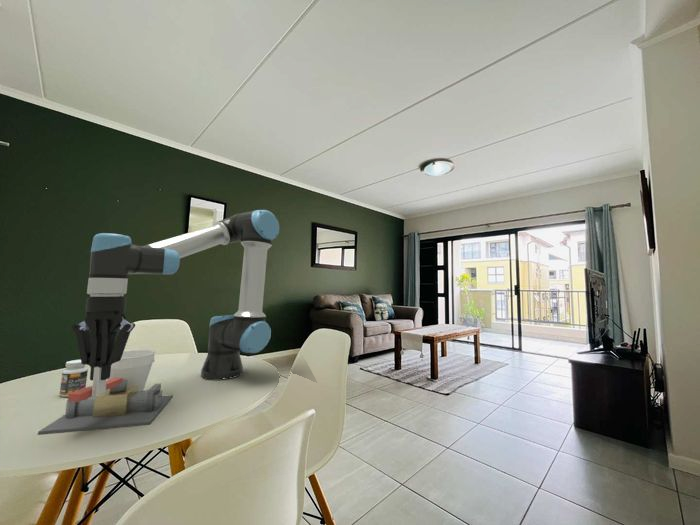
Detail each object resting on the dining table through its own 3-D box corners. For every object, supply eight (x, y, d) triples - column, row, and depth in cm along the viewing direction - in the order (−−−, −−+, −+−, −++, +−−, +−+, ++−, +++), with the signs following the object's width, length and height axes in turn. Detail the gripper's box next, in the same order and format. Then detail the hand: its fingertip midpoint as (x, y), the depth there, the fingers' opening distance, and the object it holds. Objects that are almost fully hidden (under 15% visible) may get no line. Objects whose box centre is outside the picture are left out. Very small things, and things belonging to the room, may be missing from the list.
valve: (163, 402, 82) (165, 382, 82) (153, 412, 75) (155, 390, 76) (78, 408, 76) (81, 387, 77) (60, 420, 69) (63, 396, 70)
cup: (139, 406, 80) (144, 357, 82) (88, 409, 77) (94, 359, 79) (158, 391, 92) (161, 348, 93) (114, 393, 89) (119, 349, 91)
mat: (173, 397, 87) (173, 395, 87) (149, 424, 70) (150, 421, 70) (86, 403, 81) (86, 400, 81) (37, 434, 64) (38, 431, 64)
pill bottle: (68, 398, 84) (73, 364, 85) (54, 396, 85) (58, 362, 86) (89, 391, 89) (93, 359, 90) (75, 390, 91) (79, 358, 91)
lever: (117, 387, 78) (118, 374, 78) (130, 387, 78) (131, 375, 78) (64, 409, 64) (66, 393, 64) (80, 409, 64) (82, 394, 64)
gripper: (144, 295, 75) (136, 387, 72) (91, 295, 73) (82, 389, 71) (125, 295, 67) (116, 398, 65) (65, 295, 66) (55, 400, 64)
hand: (98, 393), depth 68 cm, fingers closed
